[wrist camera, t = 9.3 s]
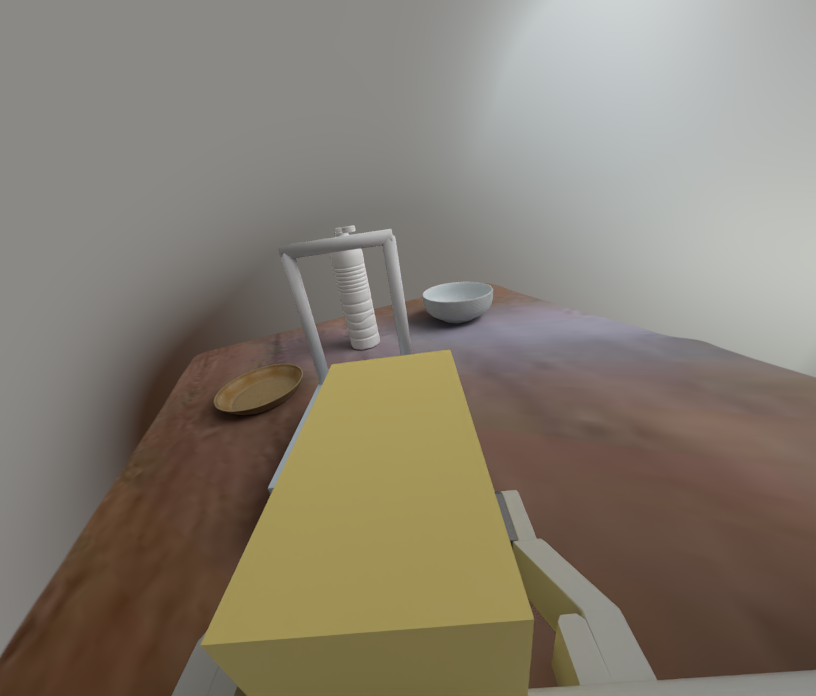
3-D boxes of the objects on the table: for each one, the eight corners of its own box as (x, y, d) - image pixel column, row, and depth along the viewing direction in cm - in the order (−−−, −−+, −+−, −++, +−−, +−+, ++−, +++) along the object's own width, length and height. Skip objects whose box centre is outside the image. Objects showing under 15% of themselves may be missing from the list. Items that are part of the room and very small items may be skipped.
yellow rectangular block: (464, 522, 15) (450, 349, 11) (518, 805, 8) (533, 619, 4) (378, 531, 16) (331, 364, 11) (355, 813, 8) (199, 645, 4)
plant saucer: (312, 402, 50) (308, 389, 49) (214, 437, 45) (207, 423, 44) (301, 367, 62) (298, 356, 61) (224, 391, 57) (218, 380, 56)
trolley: (420, 398, 46) (396, 227, 35) (431, 532, 27) (384, 251, 16) (332, 408, 47) (282, 244, 36) (282, 546, 28) (146, 286, 17)
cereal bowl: (457, 337, 64) (455, 306, 61) (412, 321, 77) (408, 294, 74) (508, 313, 72) (508, 285, 69) (459, 302, 85) (458, 278, 82)
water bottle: (347, 344, 69) (319, 229, 58) (373, 335, 72) (350, 224, 61) (362, 356, 62) (332, 229, 51) (389, 346, 65) (366, 223, 54)
